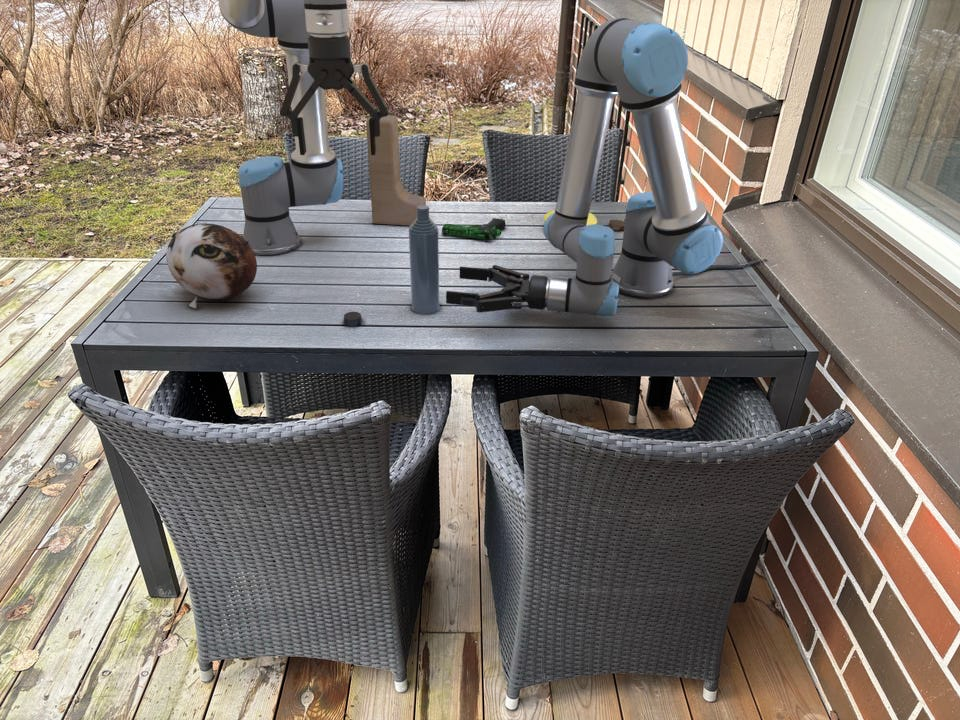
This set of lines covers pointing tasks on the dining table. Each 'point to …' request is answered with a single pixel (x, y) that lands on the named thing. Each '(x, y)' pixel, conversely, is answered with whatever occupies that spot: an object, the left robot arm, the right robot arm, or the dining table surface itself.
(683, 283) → the dining table surface
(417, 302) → the bottle
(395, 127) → the decorative block
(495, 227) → the handgun
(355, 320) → the cap
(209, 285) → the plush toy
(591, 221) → the yellow lid
